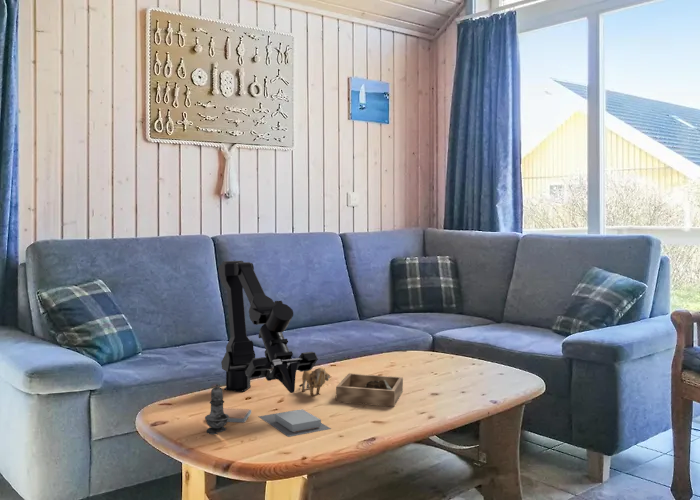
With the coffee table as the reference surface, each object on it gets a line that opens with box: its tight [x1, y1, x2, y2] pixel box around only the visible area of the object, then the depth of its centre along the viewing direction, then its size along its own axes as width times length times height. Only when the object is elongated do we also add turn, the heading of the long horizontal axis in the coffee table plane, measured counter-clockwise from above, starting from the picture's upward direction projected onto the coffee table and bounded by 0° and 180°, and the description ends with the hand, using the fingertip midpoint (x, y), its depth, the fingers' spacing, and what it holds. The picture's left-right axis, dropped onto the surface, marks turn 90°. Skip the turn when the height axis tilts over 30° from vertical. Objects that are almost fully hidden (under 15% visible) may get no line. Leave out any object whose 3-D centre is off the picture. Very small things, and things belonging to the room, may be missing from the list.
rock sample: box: [365, 380, 392, 390], centre depth 200 cm, size 10×8×9 cm
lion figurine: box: [298, 367, 331, 397], centre depth 200 cm, size 15×5×9 cm, turn 35°
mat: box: [258, 409, 332, 438], centre depth 172 cm, size 18×12×1 cm, turn 32°
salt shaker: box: [204, 383, 229, 435], centre depth 166 cm, size 6×6×12 cm
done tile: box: [223, 407, 252, 423], centre depth 176 cm, size 10×8×2 cm
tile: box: [274, 408, 322, 432], centre depth 170 cm, size 2×8×10 cm
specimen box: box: [335, 372, 404, 408], centre depth 198 cm, size 17×16×4 cm
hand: (292, 392), depth 173 cm, fingers closed
